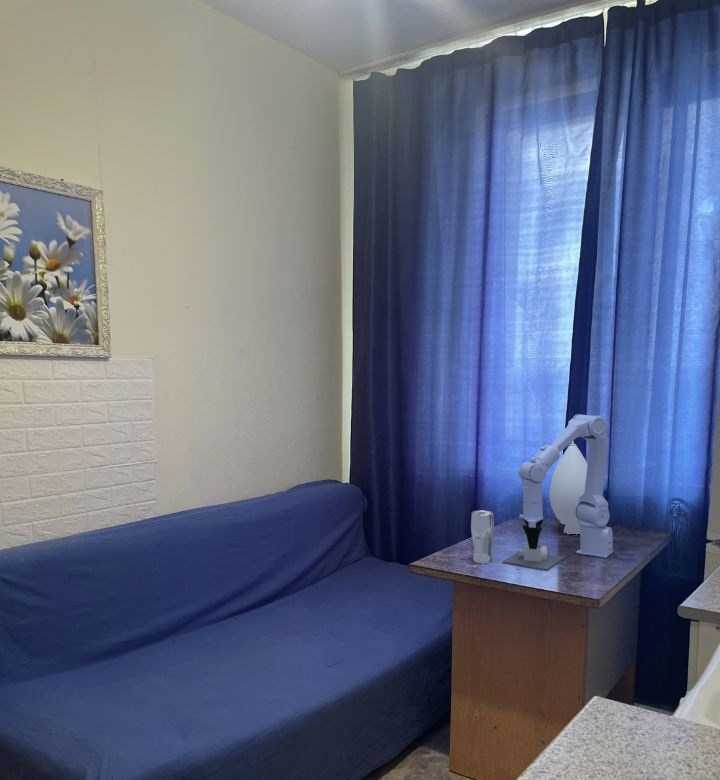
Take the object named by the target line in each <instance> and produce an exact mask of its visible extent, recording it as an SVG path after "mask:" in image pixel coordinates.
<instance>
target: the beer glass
mask: <svg viewBox="0 0 720 780" xmlns="http://www.w3.org/2000/svg"><path fill="white" fill-rule="evenodd" d="M470 519H471V520H470V521H471V522H470V531H471V532H470V533H471V538H472V542H473V543H472V544H473V558H472V562H474V563H476V564H482V565H486V564H487V565H488V564H491V563H494V562H493V561H494V557H493V553H492V548H493V547H492V546H493V541H494V533H495V521H494V520H495V519H494V512H493V511H489V510H483V509H482V510H480V509H479V510H473V511H472V512H471V518H470Z"/></svg>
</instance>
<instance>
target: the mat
mask: <svg viewBox="0 0 720 780" xmlns="http://www.w3.org/2000/svg"><path fill="white" fill-rule="evenodd" d="M564 559H565V558H564V557H563V556H558V555H557V556H556V555H552V554H551V555H550V554H547V561H543V562H542V561H526V560H524V555H518V551H517V552H516V553H514V554H512V555H511V556H509V557H507V558H505V559H504V560H502V563H501V564H505V565H512V566H517V567H521V568H528V569H534V570H539V571H544V572H548V571H549V570H551V569H552V568H553V567H555V566H557V565H558V564H560V562H562V561H564Z"/></svg>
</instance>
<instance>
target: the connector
mask: <svg viewBox="0 0 720 780" xmlns="http://www.w3.org/2000/svg"><path fill="white" fill-rule="evenodd" d="M517 552H518V555H524V560H526V561H542V562H543V561H547V555H548V546H547V545H541V544H540V545H539V544H538V545H537V549H529V545H528V543H526V544H524V546H523V548H522V549H521V548H518V549H517Z"/></svg>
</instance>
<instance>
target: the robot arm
mask: <svg viewBox="0 0 720 780" xmlns="http://www.w3.org/2000/svg"><path fill="white" fill-rule="evenodd" d="M608 425H609V424H608V422H607V421H606V420H605V418H604V417H602V415H588V414H581V413H579V414H575V415H573V417H572V418H571V419H570V420H569V421H568V424H567V426H566V427H565V428H564V429H563V431H562V432H561V433H560V434H559V435H558V436H557V438H555V440H554V441H552V443H551V444H545V445H542V446H541V447H540V448H539V449H540V450H539V451H538V452H537V453H536V454H535V455H534V456H531V458H530V460H529V461H525V462H523V463H522V464H521V466H520V468H519V470H518V472H517V474H518V476H519V477H520V479H521V484H522V512H523V513H522V514H519V515H518V517H519V519H523V521H524V523H525V524H523V525H522V529H523V531H524V532H525V535H526V539H527V545H529V549H537V545H539V544H538V543H539V537H540V534H541V532H542V530H543V526H542V524H543V522H544V516H543V514H544V511H543V481H544V480H545V479H546V477H547V473H548V471H549V470H550V468H551V467H552V466H553V465H554V464H555V463H556V462H558V460H560V453H561V452H562V451H563V450H564V449H566V448H568V447H569V446H570V445H569V444H572V441H573V440H576V439H577V438H583V439H584V440H585V441H586V443H587V444H589V446H588V447H589V448H588V458H587V464H588V465H587V474H586V483H585V492H584V494H583V495H582V496H580V497H579V500H578V504H577V506H576V508H575V516H576V518H577V519H578V520H579V523H580V535H579V537H580V539H579V544H580V546H579V549H577V550H576V551H575V553H576V554H579V555H585V556H587V555H588V556H592V557H593V556H594V557H599V558H605V559H607V558H608V557H609V556H610V555H612V553H614V548H613V542H614V541H613V540H614V539H613V537H614V536H613V535H614V534H613V529H612V527H609V526H607V524H608V522H610V521H609V520H610V517H611V516H610V511H609V502H608V501H607V500H606V499H605V497H604V486H605V478H606V476H605V475H606V470H607V469H606V468H607V459H608V458H607V457H608V450H609V437H608ZM591 503H592V504H591Z"/></svg>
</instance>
